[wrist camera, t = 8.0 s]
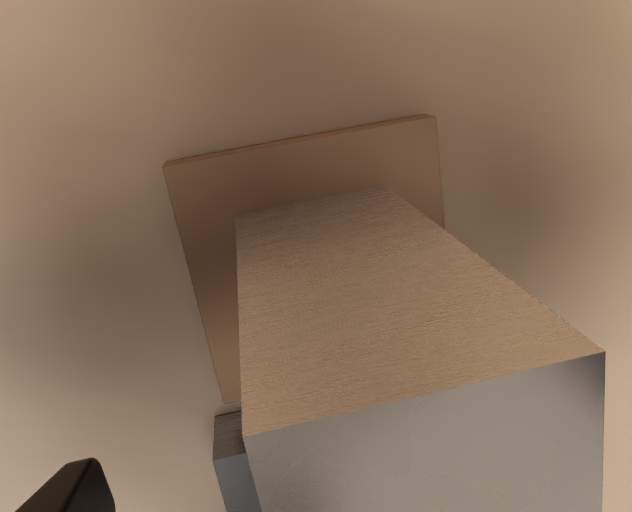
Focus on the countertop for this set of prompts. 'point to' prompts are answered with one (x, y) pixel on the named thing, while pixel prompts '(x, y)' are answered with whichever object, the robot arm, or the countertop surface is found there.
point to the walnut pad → (282, 189)
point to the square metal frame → (233, 465)
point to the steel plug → (405, 370)
